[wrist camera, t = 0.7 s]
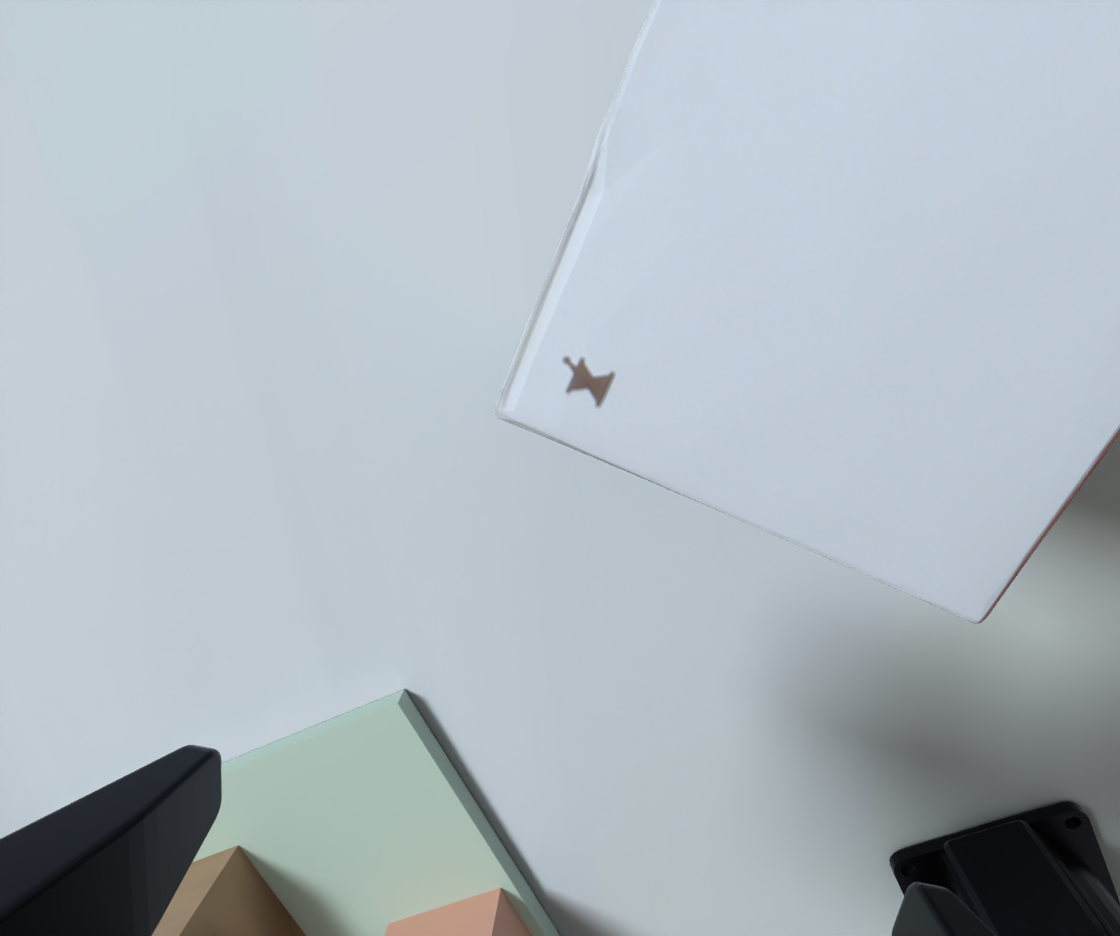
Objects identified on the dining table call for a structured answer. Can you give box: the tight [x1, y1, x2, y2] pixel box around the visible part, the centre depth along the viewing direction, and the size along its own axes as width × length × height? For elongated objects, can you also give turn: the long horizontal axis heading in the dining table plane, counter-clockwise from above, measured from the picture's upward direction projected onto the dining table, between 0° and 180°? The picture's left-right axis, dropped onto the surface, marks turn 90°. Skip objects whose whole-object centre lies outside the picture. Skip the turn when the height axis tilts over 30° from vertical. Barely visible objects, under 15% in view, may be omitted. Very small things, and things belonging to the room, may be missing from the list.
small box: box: [495, 0, 1120, 624], centre depth 13 cm, size 8×6×13 cm
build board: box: [193, 689, 560, 936], centre depth 27 cm, size 16×16×1 cm
